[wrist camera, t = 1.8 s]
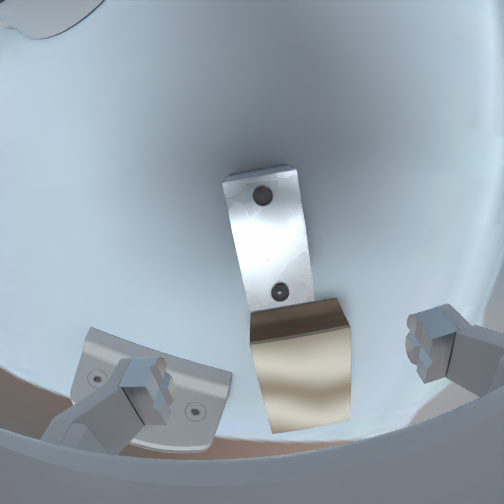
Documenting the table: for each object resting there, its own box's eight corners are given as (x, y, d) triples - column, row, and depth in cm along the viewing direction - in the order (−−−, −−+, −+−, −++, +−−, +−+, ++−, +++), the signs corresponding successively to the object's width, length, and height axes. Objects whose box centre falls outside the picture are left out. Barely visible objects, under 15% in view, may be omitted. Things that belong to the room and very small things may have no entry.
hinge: (235, 373, 31) (220, 461, 23) (226, 390, 34) (211, 468, 26) (88, 325, 29) (50, 402, 21) (93, 347, 32) (62, 417, 24)
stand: (250, 313, 28) (249, 345, 23) (336, 298, 28) (350, 327, 23) (270, 400, 32) (272, 433, 27) (340, 388, 31) (349, 420, 27)
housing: (230, 174, 24) (221, 183, 18) (286, 164, 24) (297, 170, 18) (251, 276, 27) (249, 314, 21) (303, 268, 27) (315, 303, 21)
